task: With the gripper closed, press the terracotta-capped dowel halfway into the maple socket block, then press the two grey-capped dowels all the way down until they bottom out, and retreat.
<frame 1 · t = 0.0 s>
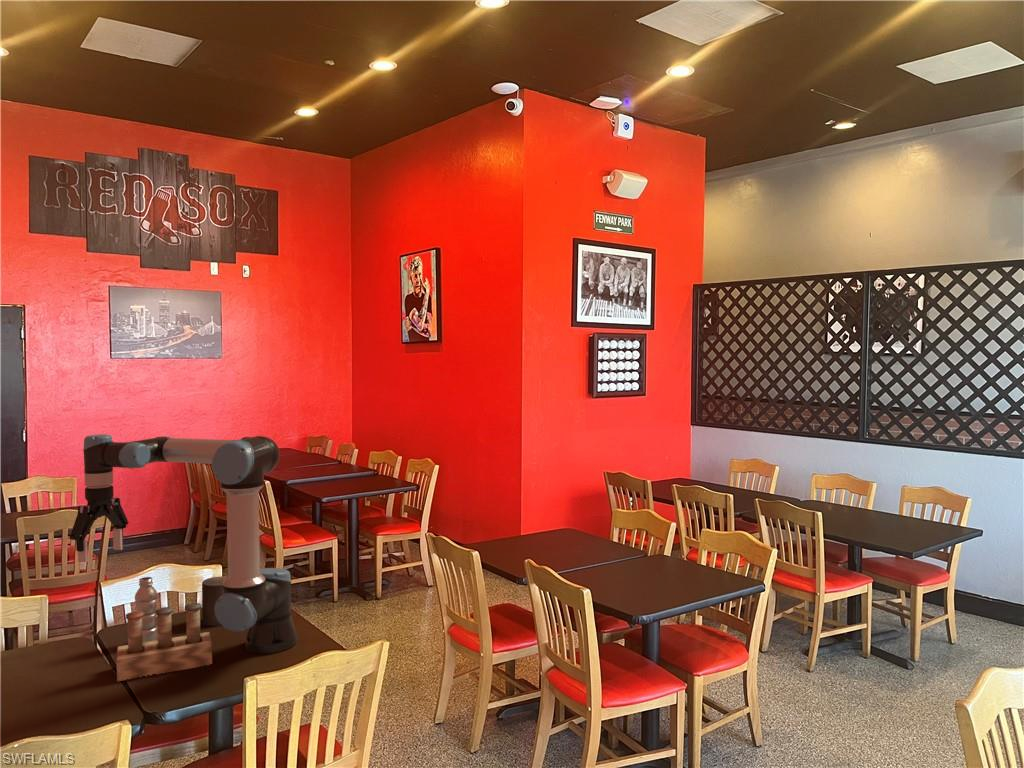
hand: (100, 555, 220), 28 cm above the table, fingers open, 13 cm apart
plug terracotta: (135, 632, 204), point 11 cm above the table, slide at 0.0 cm
plug left: (193, 623, 210), point 11 cm above the table, slide at 0.0 cm
pillar candle: (218, 621, 242), on the table
plastic bottle: (147, 643, 224), on the table
socket block: (165, 665, 208), on the table
plug middle: (164, 628, 207), point 11 cm above the table, slide at 0.0 cm
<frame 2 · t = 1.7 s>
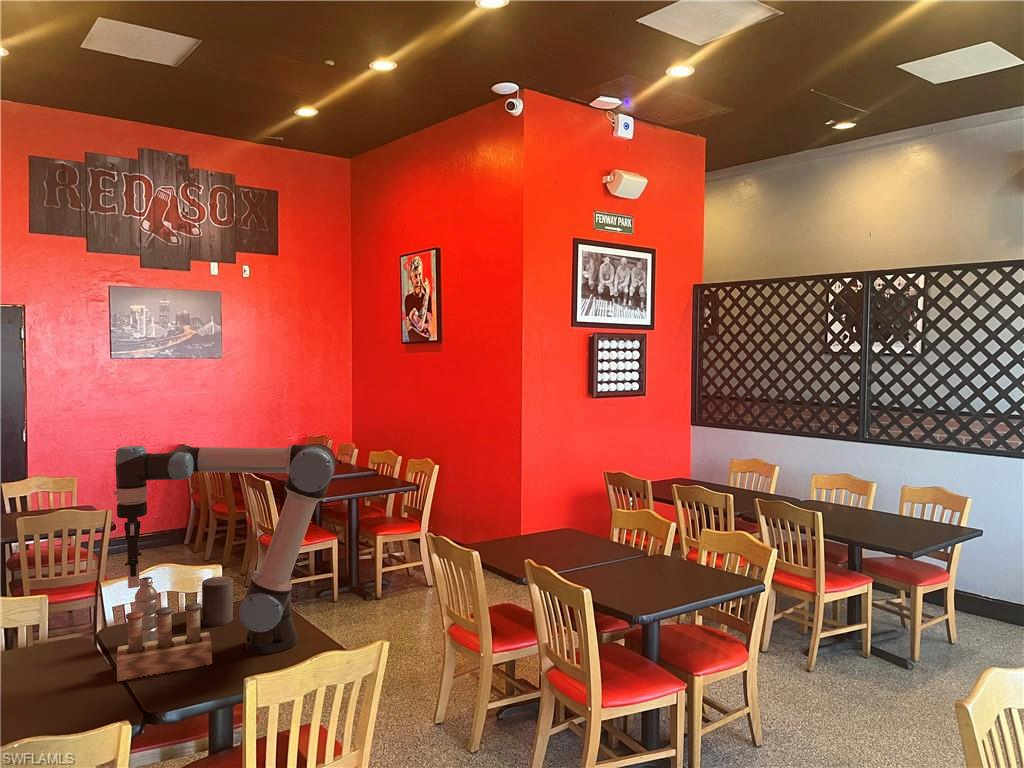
hand: (133, 583, 203), 25 cm above the table, fingers open, 6 cm apart
nothing on the table moved.
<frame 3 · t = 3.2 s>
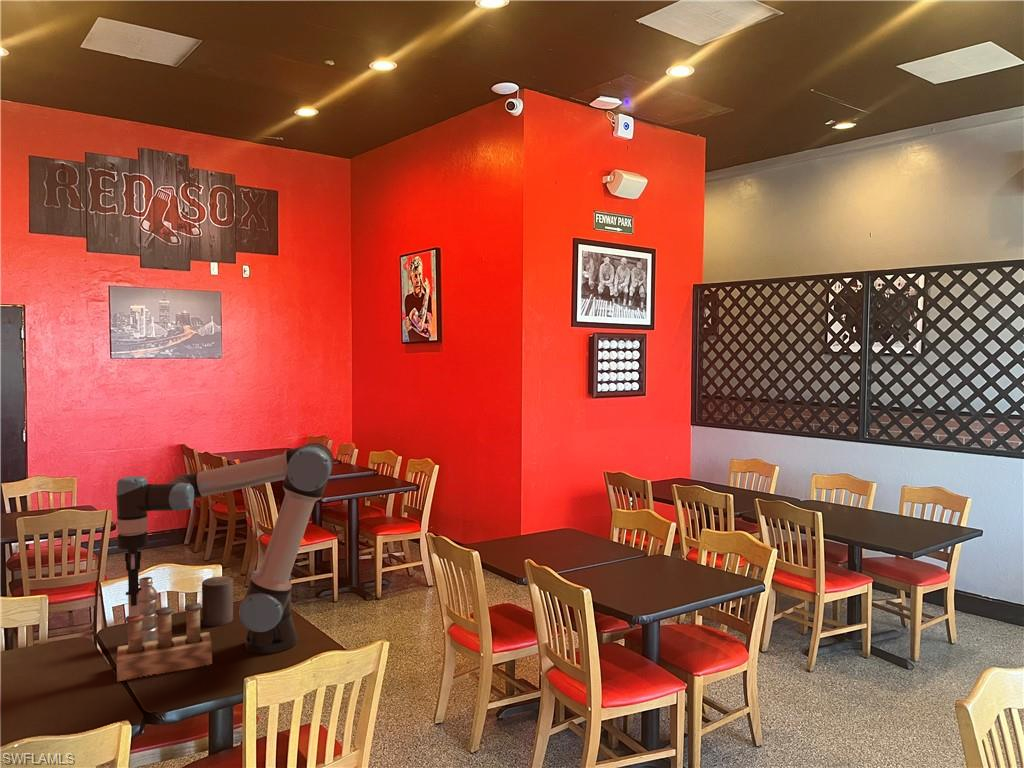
hand: (134, 615, 204), 16 cm above the table, fingers closed
plug terracotta: (135, 635, 204), point 10 cm above the table, slide at 0.8 cm, touching gripper
everything else where it was.
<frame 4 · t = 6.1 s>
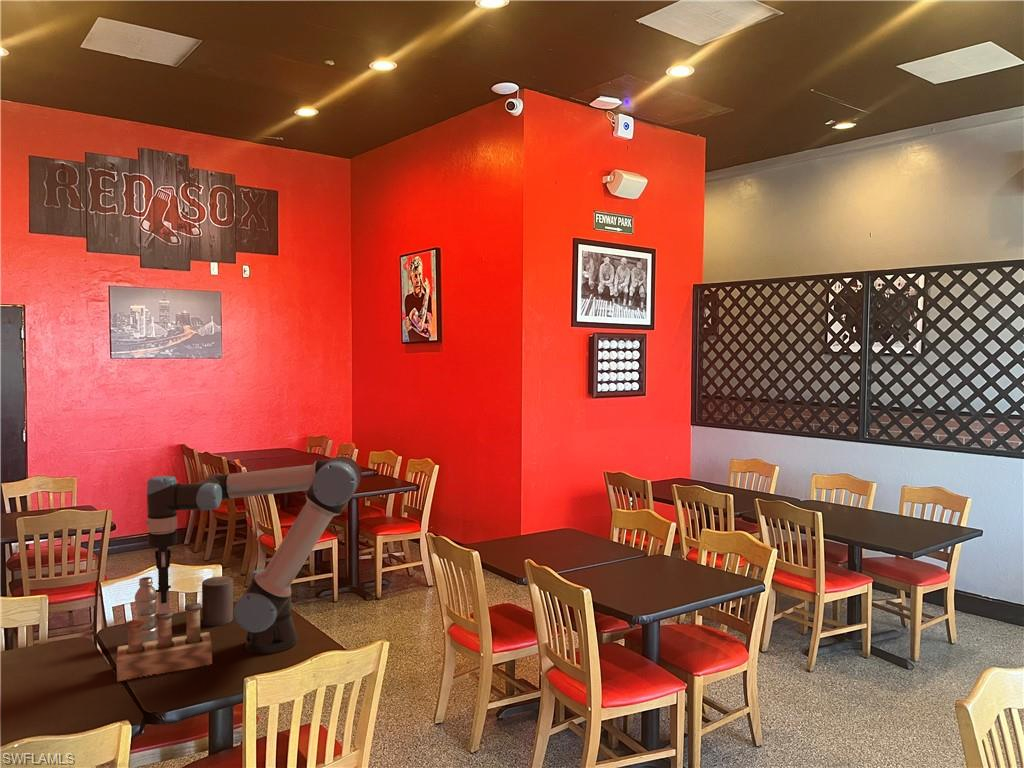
hand: (163, 612, 207), 15 cm above the table, fingers closed
plug terracotta: (135, 640, 204), point 9 cm above the table, slide at 2.3 cm
plug middle: (164, 632, 207), point 10 cm above the table, slide at 1.2 cm, touching gripper
everything else where it was.
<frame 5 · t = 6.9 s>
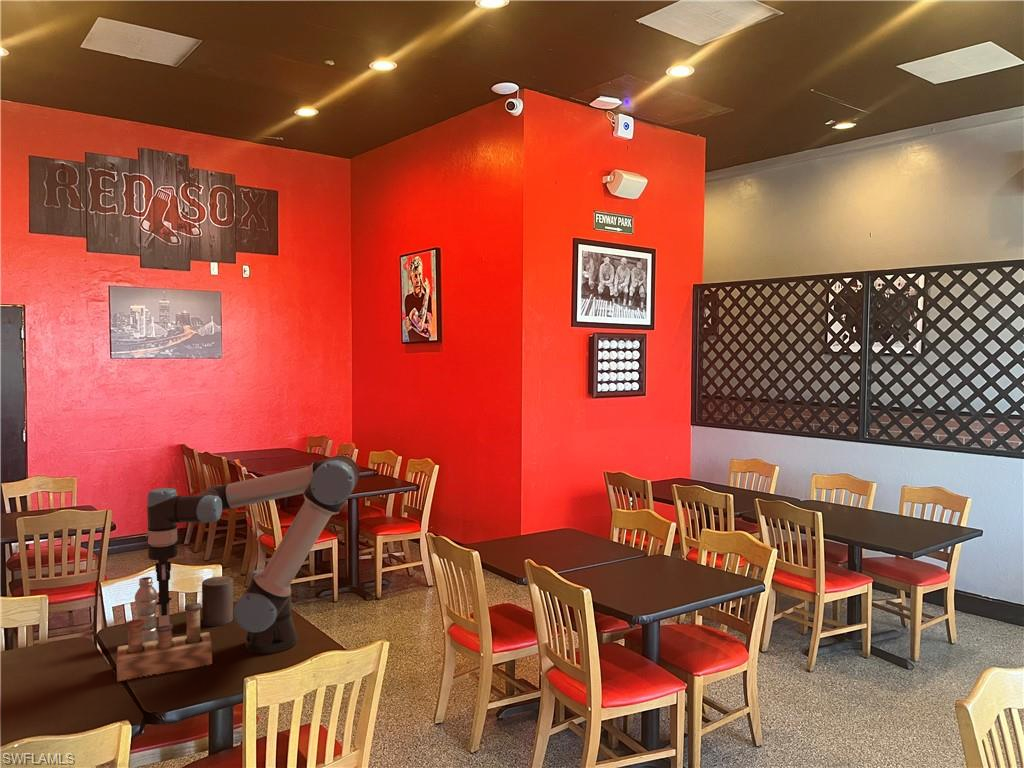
hand: (164, 625, 207), 12 cm above the table, fingers closed
plug middle: (165, 644, 207), point 6 cm above the table, slide at 4.7 cm, touching gripper
everything else where it was.
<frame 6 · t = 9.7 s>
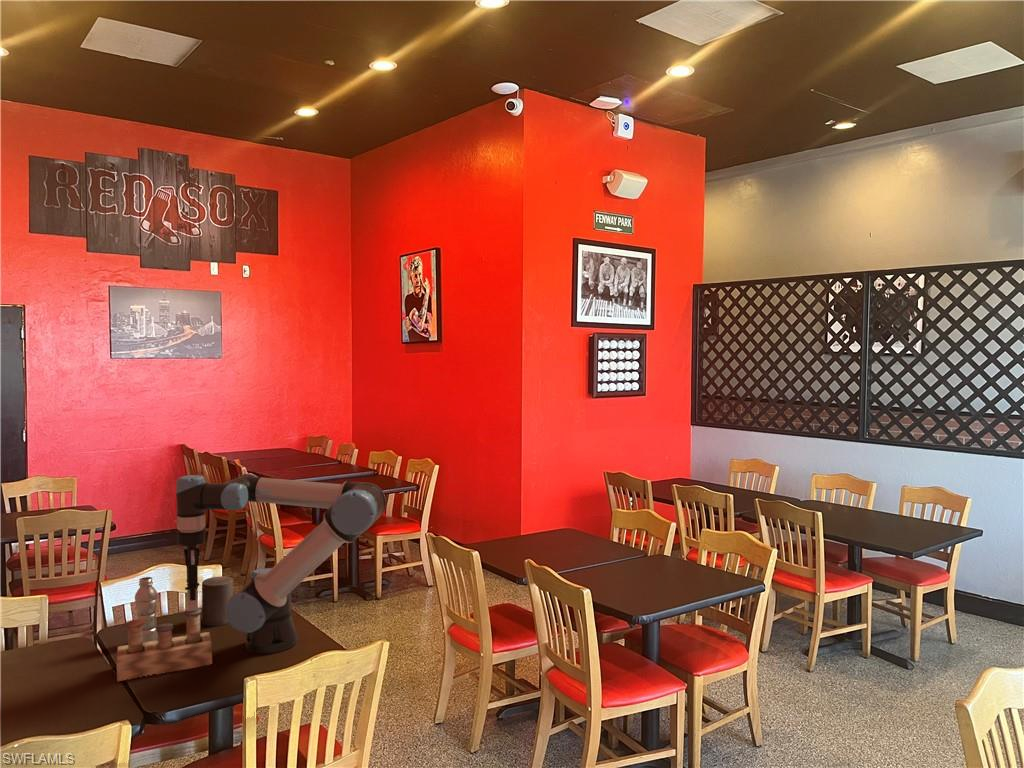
hand: (192, 610, 210), 15 cm above the table, fingers closed
plug left: (193, 629, 211), point 9 cm above the table, slide at 1.6 cm, touching gripper
plug middle: (165, 644, 207), point 6 cm above the table, slide at 4.8 cm
everything else where it was.
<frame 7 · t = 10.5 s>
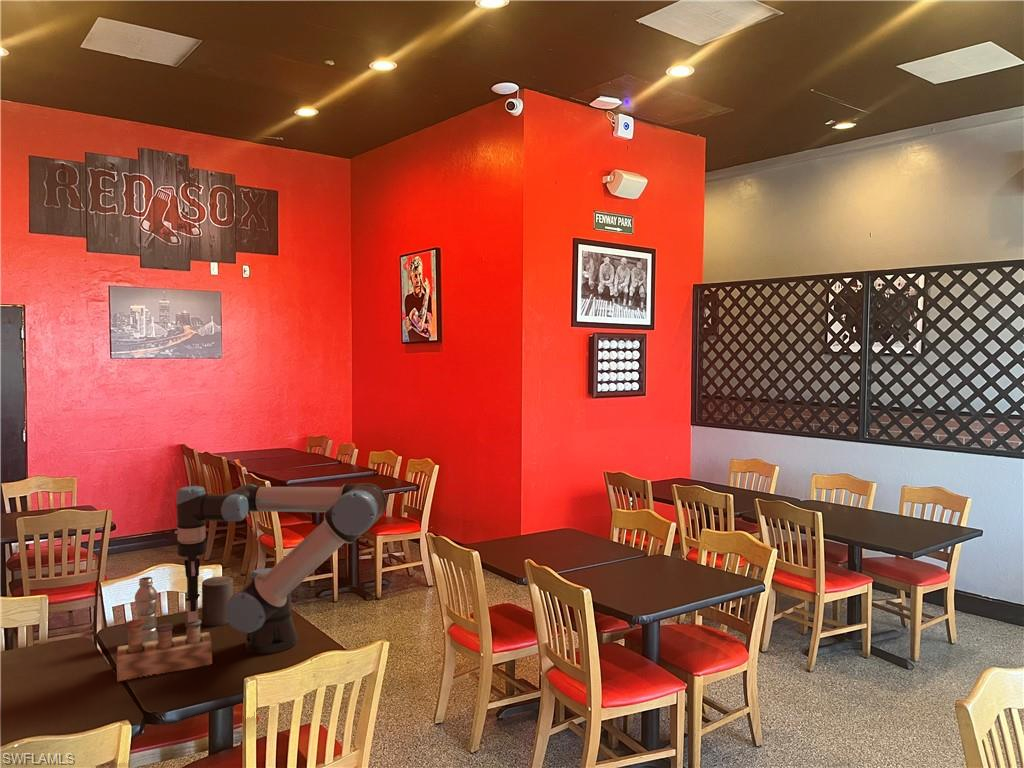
hand: (193, 620, 210), 12 cm above the table, fingers closed
plug left: (193, 640, 211), point 6 cm above the table, slide at 4.8 cm, touching gripper
everything else where it was.
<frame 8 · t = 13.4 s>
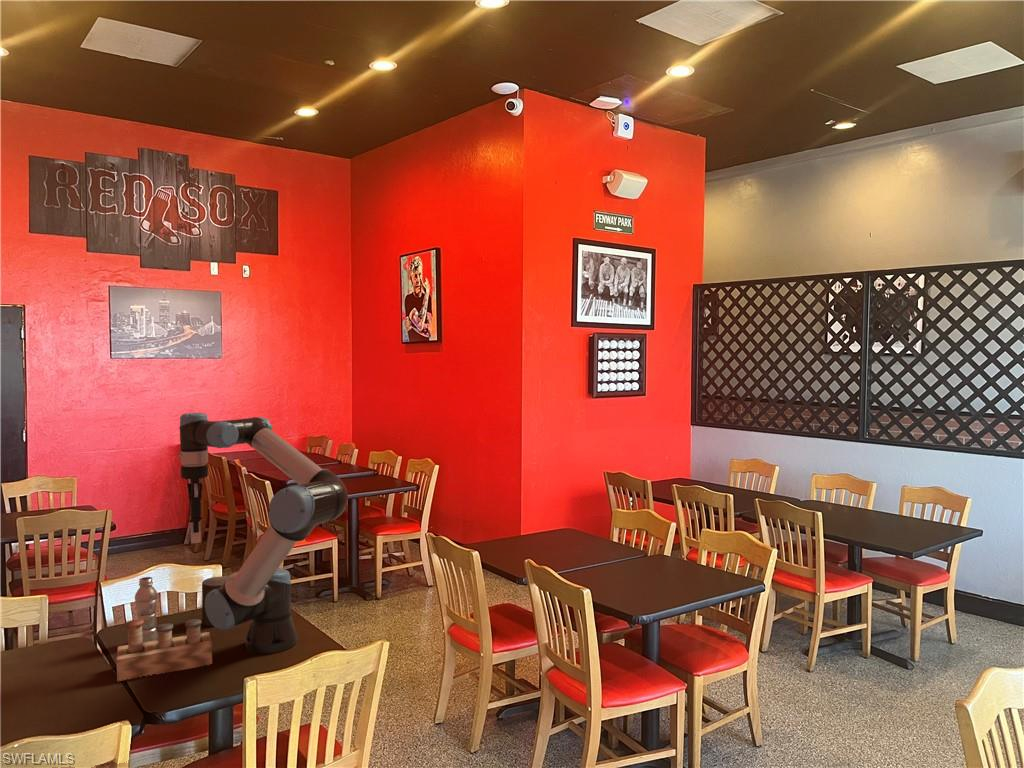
hand: (196, 542, 219), 32 cm above the table, fingers closed
plug left: (193, 640, 211), point 6 cm above the table, slide at 4.8 cm
everything else where it was.
at the end: plug terracotta slide at 2.3 cm; plug middle slide at 4.8 cm; plug left slide at 4.8 cm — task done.
